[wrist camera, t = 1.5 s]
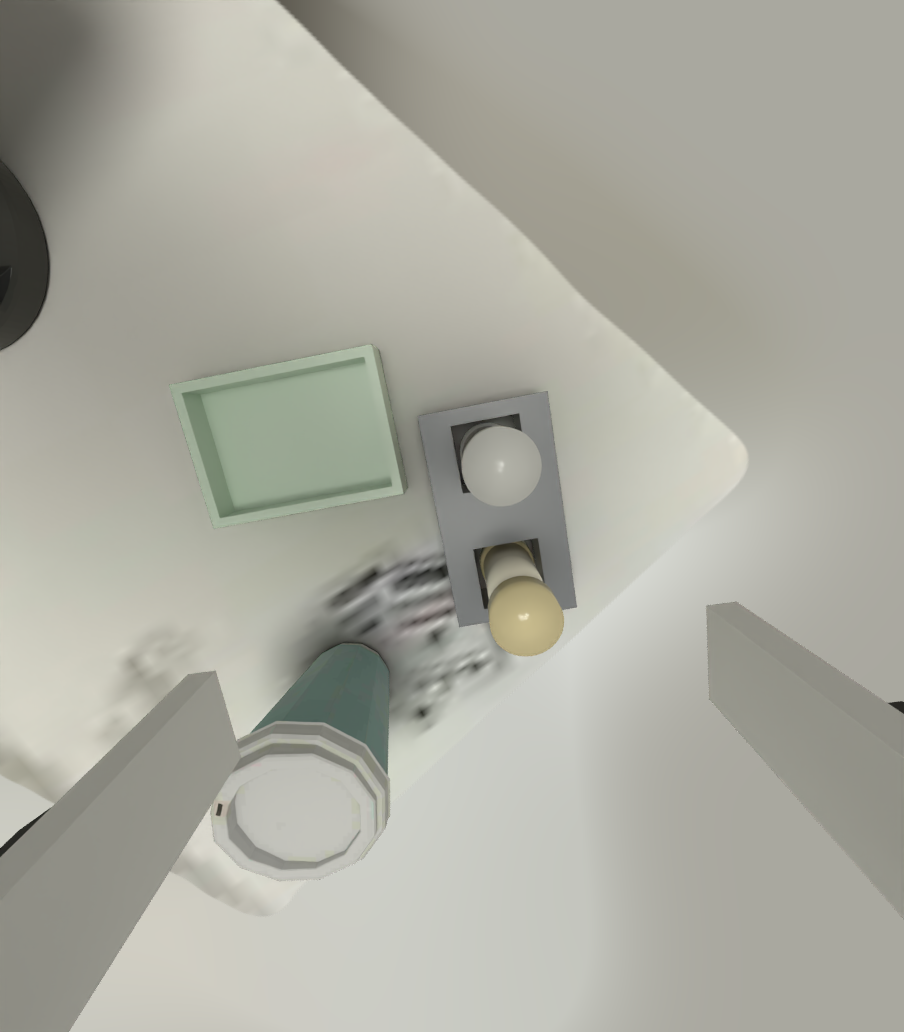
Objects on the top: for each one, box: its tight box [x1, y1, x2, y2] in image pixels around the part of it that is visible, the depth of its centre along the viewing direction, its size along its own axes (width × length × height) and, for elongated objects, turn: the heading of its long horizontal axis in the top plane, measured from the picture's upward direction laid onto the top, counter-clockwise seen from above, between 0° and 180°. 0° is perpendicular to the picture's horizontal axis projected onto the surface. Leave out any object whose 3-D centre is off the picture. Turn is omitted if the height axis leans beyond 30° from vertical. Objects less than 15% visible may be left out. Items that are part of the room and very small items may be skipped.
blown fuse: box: [460, 423, 542, 506], centre depth 30 cm, size 4×4×12 cm
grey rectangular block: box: [417, 391, 577, 627], centre depth 35 cm, size 16×9×4 cm, turn 11°
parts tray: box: [169, 344, 408, 529], centre depth 34 cm, size 11×15×3 cm
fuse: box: [479, 540, 564, 656], centre depth 32 cm, size 4×4×12 cm
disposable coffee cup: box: [211, 643, 390, 881], centre depth 33 cm, size 11×11×15 cm
